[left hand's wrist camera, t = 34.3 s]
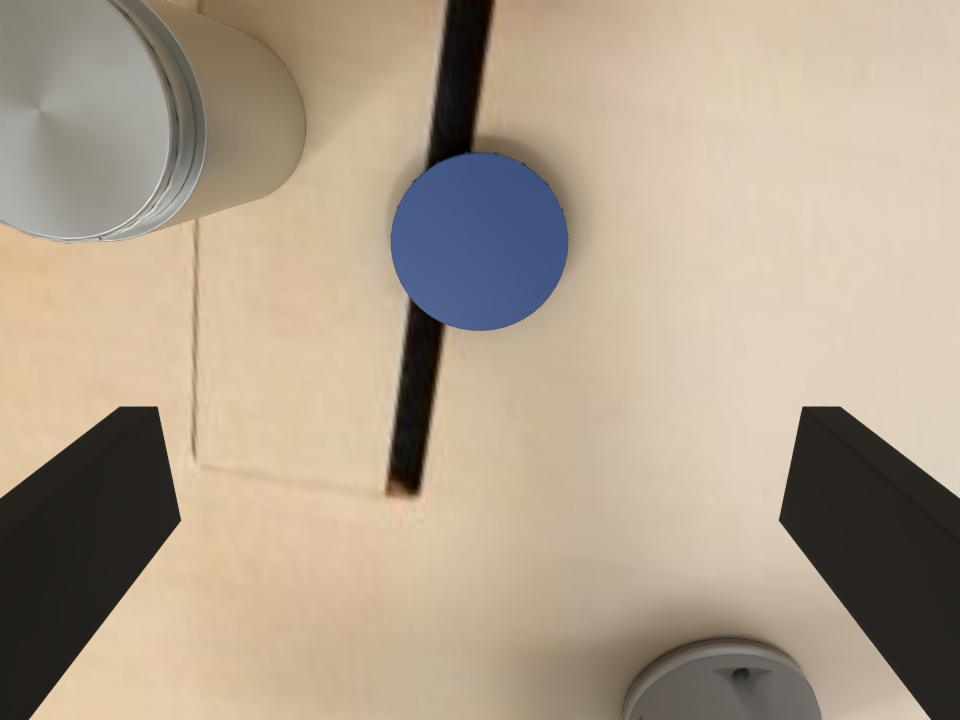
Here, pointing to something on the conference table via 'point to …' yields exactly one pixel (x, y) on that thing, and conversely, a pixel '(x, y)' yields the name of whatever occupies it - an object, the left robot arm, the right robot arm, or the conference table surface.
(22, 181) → the jar
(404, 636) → the conference table surface
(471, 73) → the conference table surface
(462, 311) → the lid
